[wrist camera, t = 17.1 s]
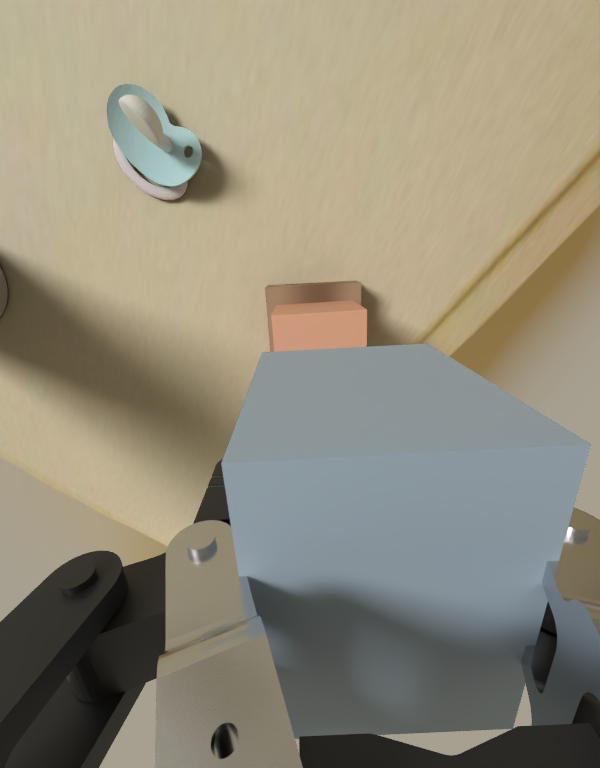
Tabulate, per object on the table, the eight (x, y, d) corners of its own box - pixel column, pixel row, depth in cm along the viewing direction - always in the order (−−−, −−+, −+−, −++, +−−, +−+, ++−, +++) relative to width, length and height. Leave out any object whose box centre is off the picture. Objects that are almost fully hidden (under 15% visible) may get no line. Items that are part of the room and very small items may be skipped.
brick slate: (413, 516, 12) (512, 729, 7) (278, 523, 12) (263, 739, 7) (427, 343, 10) (591, 444, 5) (262, 352, 10) (221, 463, 5)
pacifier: (177, 218, 29) (217, 156, 27) (145, 210, 23) (194, 130, 22) (101, 154, 27) (139, 83, 26) (46, 127, 22) (91, 33, 20)
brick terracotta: (280, 361, 30) (277, 384, 24) (276, 305, 28) (271, 315, 23) (353, 357, 30) (366, 379, 24) (352, 300, 28) (367, 309, 23)
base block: (274, 368, 33) (272, 378, 31) (268, 285, 31) (265, 287, 28) (355, 364, 33) (360, 374, 31) (355, 280, 31) (361, 282, 28)
